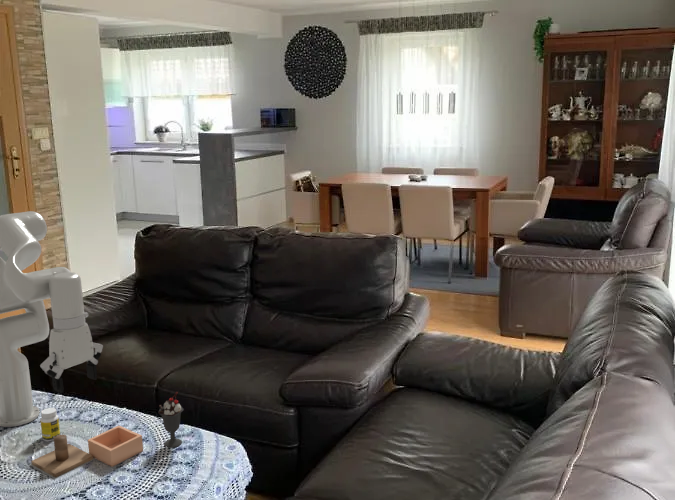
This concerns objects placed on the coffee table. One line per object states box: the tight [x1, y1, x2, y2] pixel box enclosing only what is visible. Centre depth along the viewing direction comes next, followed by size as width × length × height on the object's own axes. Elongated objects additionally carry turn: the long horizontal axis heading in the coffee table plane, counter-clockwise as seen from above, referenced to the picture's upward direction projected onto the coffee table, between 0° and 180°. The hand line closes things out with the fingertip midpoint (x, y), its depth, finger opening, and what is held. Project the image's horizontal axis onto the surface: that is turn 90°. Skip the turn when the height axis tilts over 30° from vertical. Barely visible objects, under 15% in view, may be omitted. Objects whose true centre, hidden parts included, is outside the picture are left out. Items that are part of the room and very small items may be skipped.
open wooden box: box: [87, 425, 144, 468], centre depth 183 cm, size 10×10×5 cm
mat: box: [28, 458, 96, 480], centre depth 179 cm, size 12×12×1 cm
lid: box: [31, 434, 93, 478], centre depth 178 cm, size 11×11×7 cm
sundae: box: [157, 391, 184, 449], centre depth 187 cm, size 7×7×15 cm
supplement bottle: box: [40, 407, 61, 442], centre depth 192 cm, size 5×5×8 cm
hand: (76, 384), depth 174 cm, fingers open, 9 cm apart
